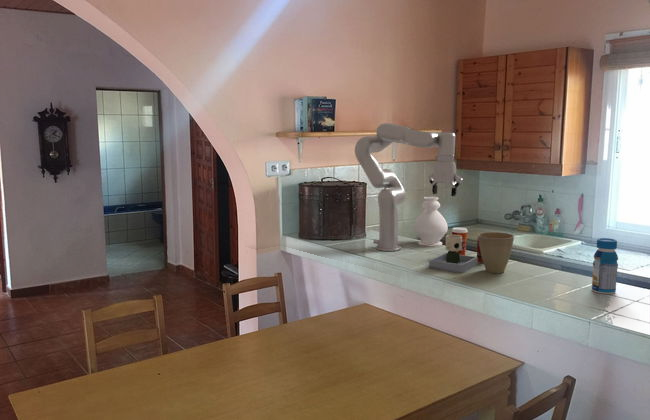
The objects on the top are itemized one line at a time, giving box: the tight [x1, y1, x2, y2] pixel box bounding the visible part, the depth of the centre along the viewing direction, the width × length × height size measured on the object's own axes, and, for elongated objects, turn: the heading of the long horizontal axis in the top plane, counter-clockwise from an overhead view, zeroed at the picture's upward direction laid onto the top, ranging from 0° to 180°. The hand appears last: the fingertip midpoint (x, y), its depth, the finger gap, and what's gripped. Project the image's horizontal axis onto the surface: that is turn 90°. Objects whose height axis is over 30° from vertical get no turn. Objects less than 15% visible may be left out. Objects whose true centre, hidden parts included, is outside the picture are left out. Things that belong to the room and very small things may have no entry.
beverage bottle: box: [591, 237, 619, 295], centre depth 209 cm, size 8×8×20 cm
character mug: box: [445, 234, 462, 264], centre depth 249 cm, size 11×7×13 cm, turn 130°
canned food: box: [476, 238, 483, 263], centre depth 259 cm, size 8×8×11 cm
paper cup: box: [451, 226, 469, 256], centre depth 266 cm, size 8×8×14 cm
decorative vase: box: [413, 196, 449, 247], centre depth 297 cm, size 18×18×25 cm
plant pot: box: [477, 231, 515, 274], centre depth 240 cm, size 15×15×16 cm
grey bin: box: [428, 252, 479, 274], centre depth 249 cm, size 16×18×4 cm
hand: (444, 194), depth 265 cm, fingers open, 9 cm apart
